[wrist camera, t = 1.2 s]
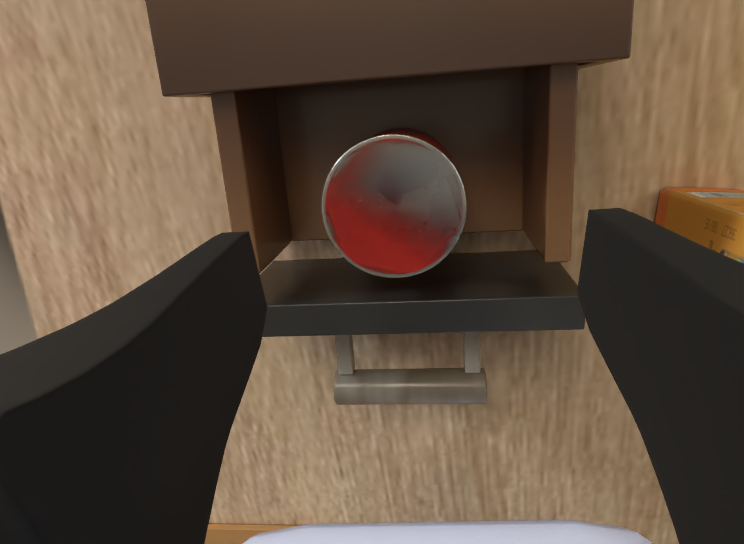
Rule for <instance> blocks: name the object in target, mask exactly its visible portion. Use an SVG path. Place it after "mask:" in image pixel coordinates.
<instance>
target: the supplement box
mask: <svg viewBox="0 0 744 544" xmlns="http://www.w3.org/2000/svg"><path fill="white" fill-rule="evenodd" d="M655 223H656V224H658V225H660V226H662V227H664V228H666V229H669V230H671V231H673V232H675V233H677V234H679V235H681V236H683V237H685V238H687V239H689V240H691V241H694V242H696V243H698V244H700V245H702V246H704V247H706V248H709V249H711V250H713V251H715V252H718V253H720V254H722V255H724V256H727V257H729V258H732V259H734V260H737V261H739V262H741V263H744V191H742V190H736V189H718V188H691V187H665V188H663V189H662V190H661V191H660V195H659V201H658V208H657V213H656V219H655Z"/></svg>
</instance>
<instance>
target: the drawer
mask: <svg viewBox="0 0 744 544" xmlns="http://www.w3.org/2000/svg"><path fill="white" fill-rule="evenodd" d="M577 81H578V63H574V64H561V65H549V66H537V67H525V68H513V69H501V70H489V71H477V72H465V73H453V74H440V75H428V76H416V77H404V78H392V79H380V80H368V81H356V82H344V83H331V84H319V85H307V86H295V87H283V88H271V89H259V90H247V91H235V92H223V93H210V94H211V101H212V107H213V113H214V120H215V126H216V133H217V139H218V145H219V152H220V158H221V165H222V171H223V178H224V184H225V190H226V197H227V203H228V210H229V216H230V222H231V229H232V232H245V231H249V233H250V237H251V242H252V246H253V250H254V254H255V258H256V262H257V266H258V270H259V273H261V272H262V271H263V270H264V269H265V268H266V267H267V266H268V265H269V264H270V263H271V262H272V261H273V260H274V259H275V258H276V257H277V256H278V254H279V253H280V252H281V251H282V250H283V249H284V248H285V247H286V246H287V245H288V244H289V243H290V242H291V241H301V240H323V239H330V238H329V236H328V234H327V231H326V229H325V225H324V222H323V216H322V194H323V190H324V185H325V182H326V180H327V177H328V175H329V173H330V171H331V169H332V168H333V166H334V165H335V163H336V162H337V161H338V159H339V158H340V157H341V156H342V155H343V154H344V153H345V152H347V151H348V150H349V149H350V148H352V147H353V146H355V145H356V144H358V143H360V142H361V141H364V140H366V139H368V138H371V137H372V136H374V135H376V134H378V133H380V132H382V131H385V130H389V129H394V128H411V129H416V130H419V131H422V132H424V133H427V134H429V135H430V136H432V137H434V138H435V139H436V140H437V141H439V142H440V143H441V144H442V145H443V146H444V147H445V149H446V150H447V152H448V153H449V154H450V156H451V158H452V160H453V163H454V165H455V168H456V170H457V171H458V173H459V175H460V177H461V180H462V183H463V185H464V189H465V194H466V203H467V210H466V219H465V224H464V227H463V230H462V233H475V232H497V231H518V230H523V231H524V232H525V234H526V235H527V237H528V238H529V239H530V241H531V242H532V244H533V245H534V247H535V248H536V249H537V250H529V251H505V252H481V253H457V254H448V255H447V256H446V257H445V258H444V259H443V260H442V261H441V262H439V263H438V264H437V265H435V266H434V267H432V268H430V269H428V270H426V271H424V272H422V273H419V274H416V275H413V276H408V277H401V278H388V277H381V276H377V275H373V274H370V273H367V272H365V271H363V270H361V269H359V268H357V267H356V266H354V265H353V264H351V263H350V262H349V261H347V260H346V259H345V258H336V259H312V260H288V261H273V262H272V263H271V264H270V265H269V266H268V267H267V268H266V269H265V270H264V271H263V272H262V273H261V274H260V279H261V283H262V287H263V291H264V295H265V299H266V304H267V313H266V318H265V324H264V330H263V334H262V337H274V336H316V335H335V342H336V351H337V361H338V370H337V371H336V372H335V376H334V399H335V402H336V404H338V405H364V404H485V403H486V401H487V383H486V373H485V369H484V368H480V332H486V331H529V330H571V329H584V326H585V315H584V312H583V309H582V306H581V302H580V299H579V296H578V292H577V290H578V285H577V284H576V283H575V282H574V280H573V279H572V278H571V276H570V275H569V274H568V273H567V271H566V270H565V269H564V268H563V266H562V265H561V264H560V263H559V262H568V261H570V257H571V232H572V207H573V181H574V156H575V131H576V106H577ZM444 332H463V338H464V368H421V369H356V370H354V369H355V362H354V351H353V340H352V335H359V334H401V333H444Z"/></svg>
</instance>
